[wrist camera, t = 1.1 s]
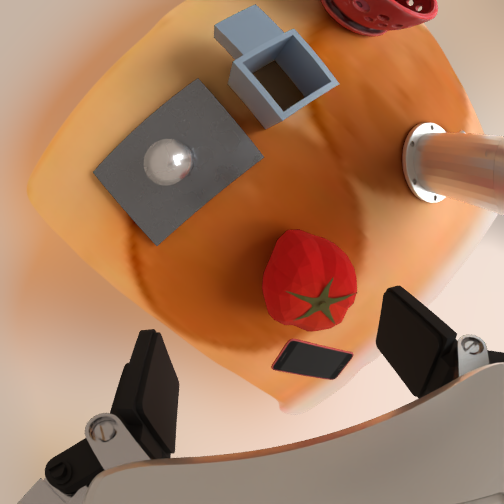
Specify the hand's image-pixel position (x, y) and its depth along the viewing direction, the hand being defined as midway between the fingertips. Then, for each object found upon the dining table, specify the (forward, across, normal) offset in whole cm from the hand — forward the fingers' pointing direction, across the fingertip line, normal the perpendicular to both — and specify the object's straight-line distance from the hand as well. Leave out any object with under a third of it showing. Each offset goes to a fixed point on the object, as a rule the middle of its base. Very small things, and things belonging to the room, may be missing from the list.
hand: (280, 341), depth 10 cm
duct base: (+24, +6, -7) cm, 25 cm away
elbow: (+24, -5, -17) cm, 29 cm away
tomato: (+24, -7, +8) cm, 26 cm away
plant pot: (+24, -20, -30) cm, 43 cm away
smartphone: (+24, -10, +26) cm, 37 cm away
